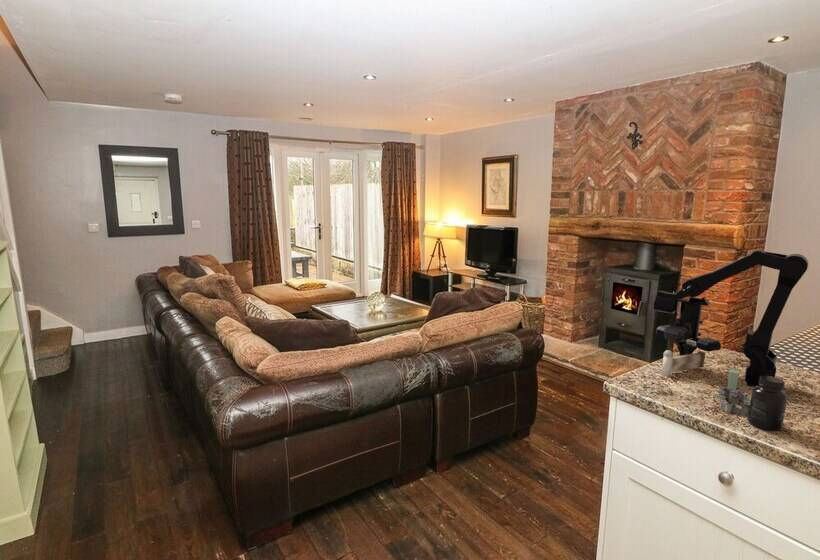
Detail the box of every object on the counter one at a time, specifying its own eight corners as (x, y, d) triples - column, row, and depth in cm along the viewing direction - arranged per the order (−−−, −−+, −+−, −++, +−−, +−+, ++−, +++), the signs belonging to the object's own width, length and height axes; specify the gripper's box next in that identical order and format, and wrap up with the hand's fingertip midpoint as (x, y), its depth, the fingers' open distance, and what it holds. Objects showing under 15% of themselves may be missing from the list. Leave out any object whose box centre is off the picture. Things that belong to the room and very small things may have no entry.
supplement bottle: (788, 433, 109) (797, 386, 107) (755, 430, 110) (763, 383, 108) (772, 420, 116) (780, 375, 113) (741, 417, 117) (748, 372, 115)
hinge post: (670, 374, 144) (673, 350, 143) (670, 376, 142) (673, 352, 140) (661, 372, 145) (664, 348, 144) (660, 375, 143) (663, 350, 142)
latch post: (735, 386, 136) (738, 369, 135) (736, 390, 133) (738, 373, 132) (727, 384, 137) (730, 368, 136) (727, 388, 134) (730, 371, 133)
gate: (672, 373, 143) (674, 357, 142) (667, 370, 145) (669, 355, 144) (703, 367, 149) (705, 352, 148) (698, 365, 150) (700, 350, 149)
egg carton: (752, 418, 117) (754, 403, 116) (717, 410, 121) (719, 396, 120) (749, 402, 126) (751, 388, 125) (716, 396, 129) (718, 382, 129)
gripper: (646, 311, 152) (641, 356, 156) (699, 327, 135) (692, 377, 139) (670, 308, 156) (665, 352, 160) (725, 323, 140) (718, 371, 143)
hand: (683, 362), depth 150 cm, fingers closed
